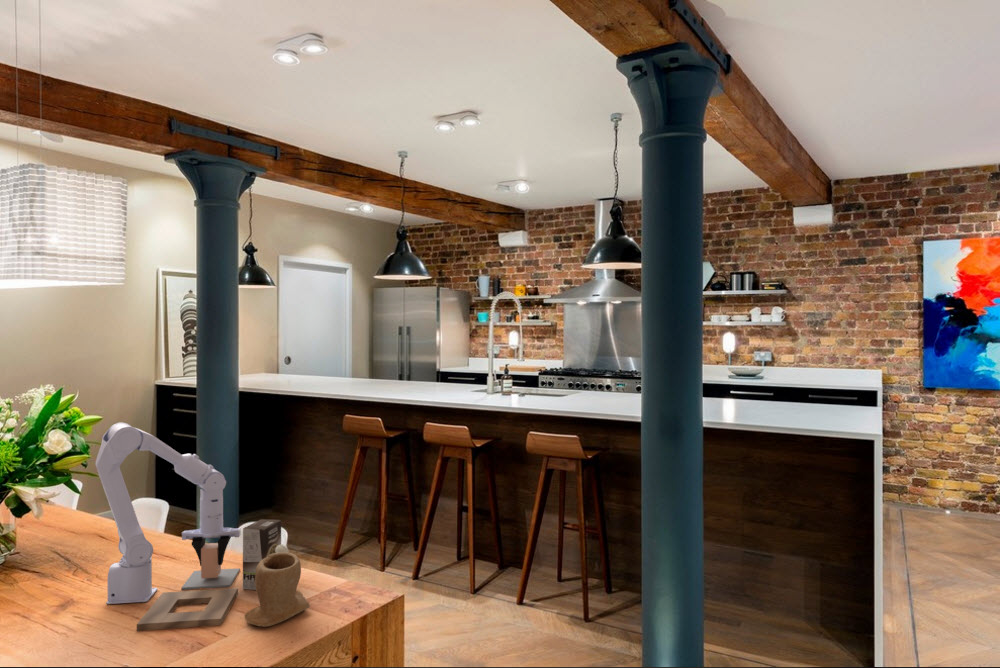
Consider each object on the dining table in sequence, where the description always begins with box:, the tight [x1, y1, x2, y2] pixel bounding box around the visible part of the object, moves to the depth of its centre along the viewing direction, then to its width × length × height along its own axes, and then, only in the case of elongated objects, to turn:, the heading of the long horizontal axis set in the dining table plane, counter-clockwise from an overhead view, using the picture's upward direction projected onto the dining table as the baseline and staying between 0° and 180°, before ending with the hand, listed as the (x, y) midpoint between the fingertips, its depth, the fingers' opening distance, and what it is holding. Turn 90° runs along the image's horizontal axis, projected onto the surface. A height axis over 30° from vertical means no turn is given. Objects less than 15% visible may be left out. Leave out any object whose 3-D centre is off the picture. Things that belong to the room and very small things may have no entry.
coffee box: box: [242, 518, 282, 591], centre depth 178 cm, size 9×6×16 cm
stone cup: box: [244, 552, 310, 628], centre depth 158 cm, size 15×12×15 cm
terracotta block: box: [200, 542, 222, 579], centre depth 180 cm, size 4×4×8 cm
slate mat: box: [181, 567, 241, 591], centre depth 181 cm, size 12×12×1 cm
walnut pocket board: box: [136, 587, 239, 632], centre depth 161 cm, size 18×18×2 cm
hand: (211, 564), depth 181 cm, fingers closed on terracotta block, 4 cm apart
